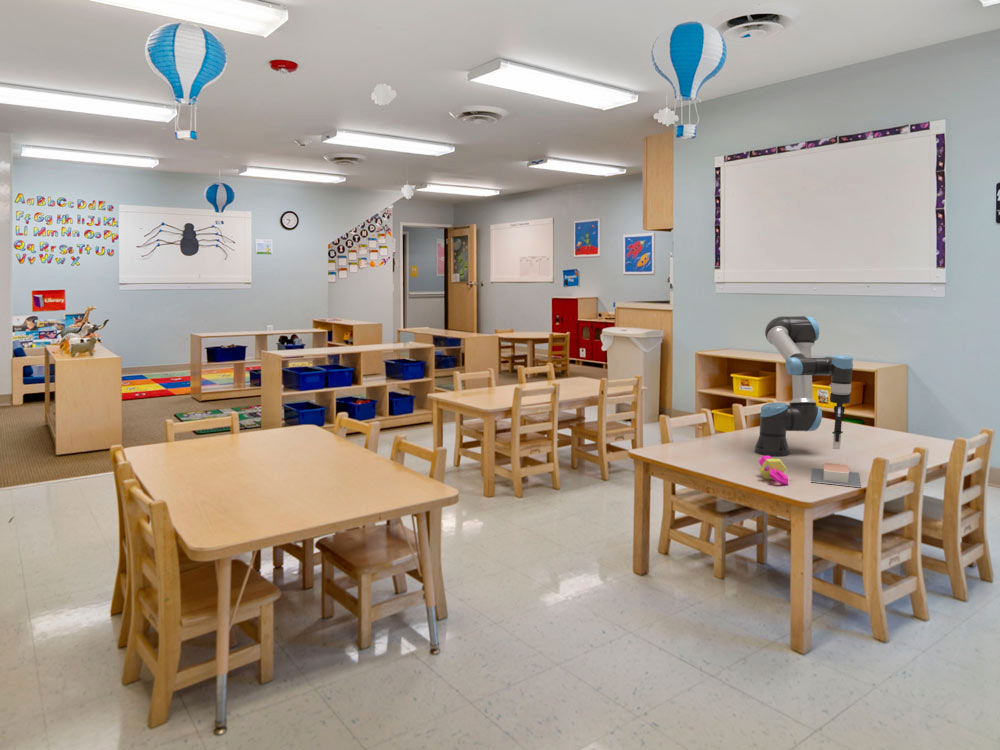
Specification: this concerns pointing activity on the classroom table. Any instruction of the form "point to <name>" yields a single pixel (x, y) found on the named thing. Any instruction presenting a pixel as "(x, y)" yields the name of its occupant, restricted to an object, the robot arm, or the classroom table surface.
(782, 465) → the toy
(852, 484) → the slate mat
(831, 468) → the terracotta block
